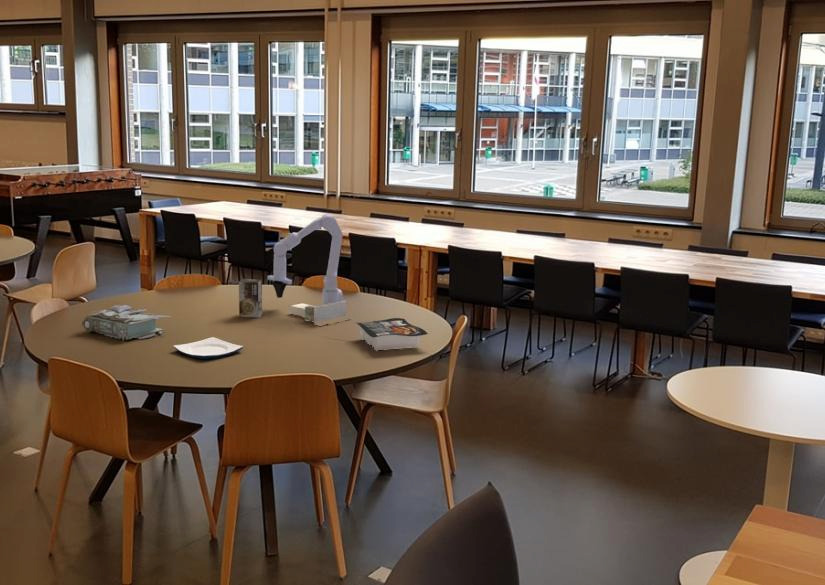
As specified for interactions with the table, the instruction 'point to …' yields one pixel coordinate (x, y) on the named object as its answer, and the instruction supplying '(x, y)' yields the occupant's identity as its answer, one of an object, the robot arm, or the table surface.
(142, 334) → the ornate clasped book
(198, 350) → the plate
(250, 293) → the coffee box
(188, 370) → the table surface
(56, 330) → the table surface
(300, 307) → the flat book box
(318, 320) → the metal bookend
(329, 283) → the robot arm
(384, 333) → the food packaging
